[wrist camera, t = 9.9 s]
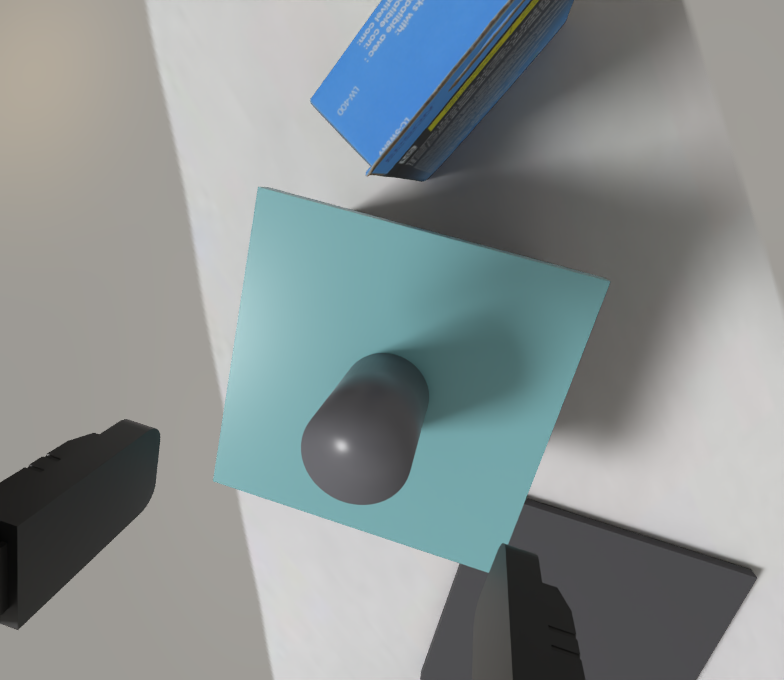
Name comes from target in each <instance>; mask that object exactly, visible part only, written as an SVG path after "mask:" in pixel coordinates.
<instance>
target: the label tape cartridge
mask: <svg viewBox="0 0 784 680" xmlns="http://www.w3.org/2000/svg"><path fill="white" fill-rule="evenodd" d="M573 1H574V0H382V1H381V2H380V4H379V5H378V6H377V8H376V9H375V10H374V12H373V13H372V14H371V16H370V17H369V19H368V20H367V22H366V23H365V24H364V26H363V27H362V28H361V30H360V31H359V32H358V34H357V35H356V37H355V38H354V40H353V41H352V42H351V44H350V45H349V47H348V48H347V49H346V51H345V52H344V53H343V55H342V56H341V58H340V59H339V61H338V62H337V63H336V65H335V66H334V68H333V69H332V70H331V72H330V73H329V74H328V76H327V77H326V79H325V80H324V81H323V83H322V84H321V86H320V87H319V88H318V90H317V91H316V92H315V94H314V95H313V96H312V98H311V100H310V102H311V104H312V105H313V106H314V107H315V109H316V110H317V111H318V112H319V113H320V114H321V115H322V116H323V117H324V118H325V119H326V120H327V121H328V122H329V123H330V124H331V125H332V127H333V128H334V129H335V130H336V131H337V132H338V133H339V134H340V135H341V136H342V137H343V138H344V139H345V140H346V142H347V143H348V144H349V145H350V146H351V147H352V148H353V149H354V150H355V151H356V152H357V153H358V154H359V155H360V156H361V157H362V158H363V159H364V160H365V161H366V162H367V163H368V164H369V165H370V166H371V167H370V168H369V169H368V171H367V172H366V176H369V175H377V176H384V177H396V178H402V179H409V180H416V181H421V182H422V181H425V180H426V179H427V178H429V177H430V176H431V175H432V174H433V173H434V172H435V171H436V170H437V169H438V168H439V167H440V166H441V165H442V163H443V162H444V161H445V160H446V159H447V158H448V157H449V156H450V155H451V154H452V153H453V151H454V150H455V149H456V148H457V147H458V146H459V145H460V143H461V142H462V141H463V140H464V139H465V138H466V137H467V136H468V134H469V133H470V132H471V131H472V130H473V129H474V128H475V126H476V125H477V124H478V123H479V122H480V121H481V120H482V118H483V117H484V116H485V115H486V114H487V113H488V112H489V110H490V109H491V108H492V107H493V106H494V105H495V104H496V103H497V101H498V100H499V99H500V98H501V97H502V96H503V95H504V93H505V92H506V91H507V90H508V89H509V88H510V86H511V85H512V84H513V83H514V82H515V81H516V79H517V78H518V77H519V76H520V75H521V74H522V73H523V71H524V70H525V69H526V68H527V67H528V66H529V64H530V63H531V62H532V61H533V60H534V59H535V57H536V56H537V55H538V54H539V53H540V52H541V51H542V49H543V48H544V47H545V46H546V45H547V44H548V42H549V41H550V40H551V39H552V38H553V37H554V35H555V34H556V33H557V32H558V30H559V29H560V28H561V27H562V25H563V24H564V23H565V21H566V20H567V17H568V14H569V11H570V9H571V6H572V4H573Z"/></svg>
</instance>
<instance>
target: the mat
mask: <svg viewBox="0 0 784 680" xmlns="http://www.w3.org/2000/svg"><path fill="white" fill-rule="evenodd" d="M508 545H510V546H513V547H517V548H520V549H523V550H526V551H529V552H532V553H535V554H537V555H538V558H539V564H540V571H541V578H542V583H545V584H548V585H551V586H554V587H557V588H558V589H559V591H560V593H561V594H562V596H563V598H564V599H565V601H566V603H567V604H568V606H569V608H570V609H571V611H572V616H573V621H574V625H575V630H576V639H577V640H578V645H579V650H580V660H582V665H583V670H584V675H585V680H696V679H697V678H698V676H699V674H700V673H701V671H702V669H703V668H704V666H705V664H706V663H707V661H708V659H709V658H710V656H711V654H712V653H713V651H714V649H715V648H716V646H717V644H718V643H719V641H720V639H721V638H722V636H723V634H724V633H725V631H726V629H727V628H728V626H729V624H730V623H731V621H732V619H733V618H734V616H735V614H736V613H737V611H738V609H739V608H740V606H741V604H742V603H743V601H744V599H745V598H746V596H747V594H748V593H749V591H750V589H751V588H752V586H753V584H754V583H755V581H756V579H757V577H756V576H755V574H754V573H753V571H752V570H751V569H748V568H745V567H742V566H738V565H735V564H732V563H729V562H726V561H723V560H719V559H716V558H713V557H710V556H707V555H704V554H700V553H697V552H694V551H691V550H688V549H685V548H681V547H678V546H675V545H672V544H669V543H666V542H662V541H659V540H656V539H653V538H650V537H647V536H643V535H640V534H637V533H634V532H631V531H628V530H624V529H621V528H618V527H615V526H612V525H609V524H605V523H602V522H599V521H596V520H593V519H590V518H587V517H583V516H580V515H577V514H574V513H571V512H568V511H564V510H561V509H558V508H555V507H552V506H549V505H545V504H542V503H539V502H536V501H533V500H530V499H526V500H525V502H524V505H523V507H522V510H521V512H520V515H519V518H518V520H517V523H516V525H515V528H514V530H513V533H512V535H511V538H510V541H509V543H508ZM488 574H489V573H487V572H484V571H481V570H478V569H475V568H472V567H469V566H466V565H463V564H459V567H458V570H457V573H456V575H455V578H454V581H453V584H452V587H451V589H450V592H449V595H448V598H447V601H446V603H445V606H444V609H443V612H442V615H441V617H440V620H439V623H438V626H437V628H436V631H435V634H434V637H433V640H432V642H431V645H430V648H429V651H428V654H427V656H426V659H425V662H424V665H423V668H422V670H421V677H420V679H421V680H472V661H473V626H474V618H475V612H476V607H477V603H478V600H479V597H480V594H481V591H482V589H483V586H484V584H485V581H486V579H487V576H488Z"/></svg>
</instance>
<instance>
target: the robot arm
mask: <svg viewBox="0 0 784 680" xmlns="http://www.w3.org/2000/svg"><path fill="white" fill-rule="evenodd" d="M159 445H160V433H159V431H158V430H157V429H155V428H152V427H149V426H146V425H143V424H140V423H137V422H134V421H131V420H127V419H124V420H121V421H120V422H118V423H116V424H115V425H113V426H112V427H110V428H109V429H107V430H106V431H104V432H103V433H101V434H96V433H92V434H89V435H86V436H82V437H79V438H76V439H73V440H70V441H67V442H66V443H64V444H62V445H61V446H59V447H57V448H56V449H54V450H52V451H51V452H49V453H47V455H46V457H41V458H39V459H38V460H36V461H35V462H33V463H31V464H30V465H29V467H28V468H23V469H22V470H20V471H19V472H17V473H15V474H13V475H12V476H10V477H8V478H7V479H5V480H3V481H2V482H0V624H3V625H6V626H8V627H11V628H14V629H16V630H18V629H19V628H20V627H21V626H23V625H24V624H25V623H26V622H27V621H28V620H29V619H30V618H31V617H32V616H33V615H34V614H35V613H36V612H37V611H38V610H39V609H40V608H41V607H43V605H45V604H46V603H47V602H48V601H49V600H50V599H51V598H52V597H53V596H54V595H55V594H56V593H57V592H58V591H59V590H60V589H61V588H62V587H64V585H66V584H67V583H68V582H69V581H70V580H71V579H72V578H73V577H74V576H75V575H76V574H77V573H78V572H79V571H80V570H81V569H82V568H83V567H84V566H86V565H87V564H88V563H89V562H90V561H91V560H92V559H93V558H94V557H95V556H96V555H97V554H98V553H99V552H100V551H101V550H102V549H103V548H104V547H106V545H108V544H109V543H110V542H111V541H112V540H113V539H114V538H115V537H116V536H117V535H118V534H119V533H120V532H121V531H122V530H123V529H124V528H125V527H127V526H128V525H129V524H130V523H131V522H132V521H133V520H134V519H135V518H136V517H137V516H138V515H139V514H140V513H141V512H142V511H143V510H144V508H145V507H146V506H147V504H148V503H149V501H150V499H151V497H152V494H153V492H154V488H155V483H156V473H157V464H158V455H159ZM472 680H585V675H584V670H583V665H582V660H580V650H579V645H578V640H577V639H576V630H575V625H574V621H573V616H572V611H571V609H570V608H569V606H568V604H567V603H566V601H565V599H564V598H563V596H562V594H561V593H560V591H559V589H558V588H557V587H554V586H551V585H548V584H545V583H542V578H541V571H540V564H539V558H538V555H537V554H535V553H532V552H529V551H526V550H523V549H520V548H517V547H513V546H510V545H507V544H504V543H502V544H501V545H500V547H499V549H498V551H497V554H496V556H495V559H494V561H493V564H492V566H491V569H490V571H489V574H488V576H487V579H486V581H485V584H484V586H483V589H482V591H481V594H480V597H479V600H478V603H477V607H476V612H475V618H474V626H473V661H472Z"/></svg>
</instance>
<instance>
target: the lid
mask: <svg viewBox="0 0 784 680" xmlns="http://www.w3.org/2000/svg"><path fill="white" fill-rule="evenodd" d="M609 284H610V281H609V280H607V279H606V278H604V277H600V276H596V275H593V274H589V273H585V272H581V271H578V270H574V269H570V268H567V267H563V266H559V265H555V264H552V263H548V262H544V261H541V260H537V259H533V258H529V257H526V256H522V255H518V254H515V253H511V252H507V251H503V250H500V249H496V248H492V247H488V246H485V245H481V244H477V243H474V242H470V241H466V240H462V239H459V238H455V237H451V236H448V235H444V234H440V233H436V232H433V231H429V230H425V229H422V228H418V227H414V226H410V225H407V224H403V223H399V222H395V221H392V220H388V219H384V218H381V217H377V216H373V215H369V214H366V213H362V212H358V211H355V210H351V209H347V208H343V207H340V206H336V205H332V204H329V203H325V202H321V201H317V200H314V199H310V198H306V197H303V196H299V195H295V194H291V193H288V192H284V191H280V190H276V189H273V188H269V187H258V191H257V198H256V204H255V211H254V217H253V224H252V230H251V237H250V243H249V250H248V256H247V263H246V269H245V276H244V283H243V289H242V296H241V302H240V309H239V315H238V322H237V328H236V335H235V341H234V348H233V354H232V361H231V367H230V374H229V381H228V387H227V394H226V400H225V407H224V413H223V420H222V427H221V433H220V440H219V447H218V452H217V459H216V465H215V473H214V478H213V481H214V482H217V483H220V484H223V485H226V486H229V487H232V488H235V489H238V490H241V491H244V492H247V493H250V494H253V495H256V496H259V497H262V498H265V499H268V500H271V501H274V502H277V503H280V504H283V505H286V506H289V507H292V508H295V509H298V510H301V511H304V512H307V513H310V514H313V515H316V516H319V517H322V518H325V519H328V520H331V521H334V522H337V523H340V524H343V525H346V526H349V527H352V528H355V529H358V530H361V531H364V532H367V533H370V534H373V535H376V536H379V537H382V538H385V539H388V540H391V541H394V542H397V543H400V544H403V545H406V546H409V547H412V548H415V549H418V550H421V551H424V552H427V553H430V554H433V555H436V556H439V557H442V558H445V559H448V560H451V561H454V562H457V563H460V564H463V565H466V566H469V567H472V568H475V569H478V570H481V571H484V572H487V573H489V571H490V569H491V566H492V564H493V561H494V559H495V556H496V554H497V551H498V549H499V547H500V545H501V544H502V543H504V544H507V545H508V543H509V541H510V538H511V535H512V533H513V530H514V528H515V525H516V523H517V520H518V518H519V515H520V512H521V510H522V507H523V505H524V502H525V500H526V497H527V494H528V492H529V489H530V487H531V484H532V482H533V479H534V477H535V474H536V471H537V469H538V466H539V464H540V461H541V459H542V456H543V453H544V451H545V448H546V446H547V443H548V441H549V438H550V436H551V433H552V430H553V428H554V425H555V423H556V420H557V418H558V415H559V412H560V410H561V407H562V405H563V402H564V400H565V397H566V395H567V392H568V389H569V387H570V384H571V382H572V379H573V377H574V374H575V371H576V369H577V366H578V364H579V361H580V359H581V356H582V354H583V351H584V348H585V346H586V343H587V341H588V338H589V336H590V333H591V330H592V328H593V325H594V323H595V320H596V318H597V315H598V313H599V310H600V307H601V305H602V302H603V300H604V297H605V295H606V292H607V289H608V287H609Z"/></svg>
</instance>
